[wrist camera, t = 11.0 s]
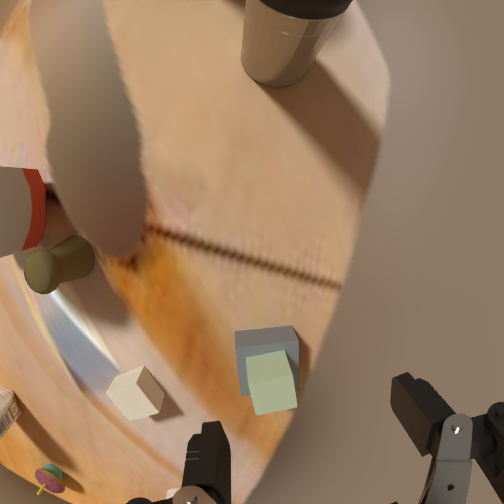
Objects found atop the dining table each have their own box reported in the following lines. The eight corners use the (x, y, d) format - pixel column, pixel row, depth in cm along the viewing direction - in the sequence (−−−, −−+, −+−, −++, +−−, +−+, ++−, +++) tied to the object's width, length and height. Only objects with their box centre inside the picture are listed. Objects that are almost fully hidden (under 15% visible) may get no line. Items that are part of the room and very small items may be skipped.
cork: (102, 262, 38) (63, 283, 27) (76, 284, 38) (36, 310, 27) (79, 227, 37) (35, 238, 26) (54, 251, 37) (10, 268, 26)
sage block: (245, 357, 36) (248, 384, 31) (284, 349, 37) (292, 375, 31) (252, 387, 37) (256, 415, 31) (289, 380, 37) (297, 407, 32)
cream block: (116, 375, 41) (105, 393, 36) (144, 365, 41) (135, 383, 36) (136, 402, 42) (129, 421, 37) (165, 393, 42) (159, 412, 37)
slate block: (235, 330, 41) (235, 347, 36) (291, 324, 41) (298, 340, 36) (240, 376, 42) (241, 395, 38) (292, 371, 43) (298, 389, 38)
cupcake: (36, 455, 45) (19, 484, 33) (62, 464, 45) (45, 496, 33) (49, 474, 46) (34, 503, 34) (74, 483, 47) (61, 514, 35)
